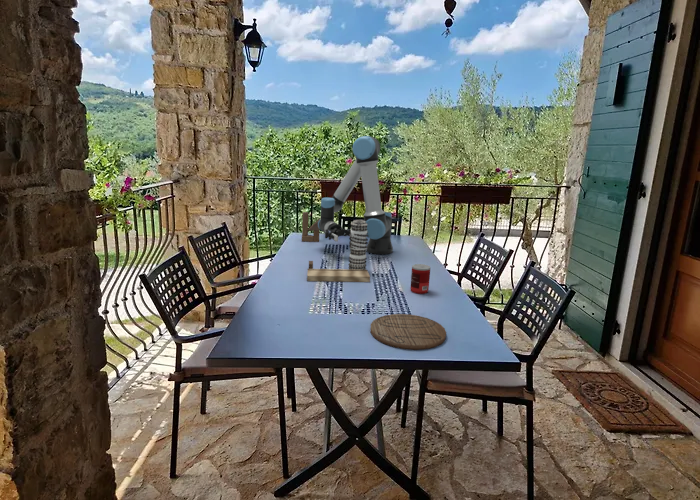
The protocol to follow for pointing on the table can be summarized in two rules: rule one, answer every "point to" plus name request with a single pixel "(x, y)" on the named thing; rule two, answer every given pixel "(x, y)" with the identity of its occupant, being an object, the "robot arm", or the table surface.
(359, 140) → the robot arm
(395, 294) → the table surface
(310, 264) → the brown flat block
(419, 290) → the canned food
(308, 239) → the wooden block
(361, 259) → the decorative candle
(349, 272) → the oak board
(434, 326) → the trivet
